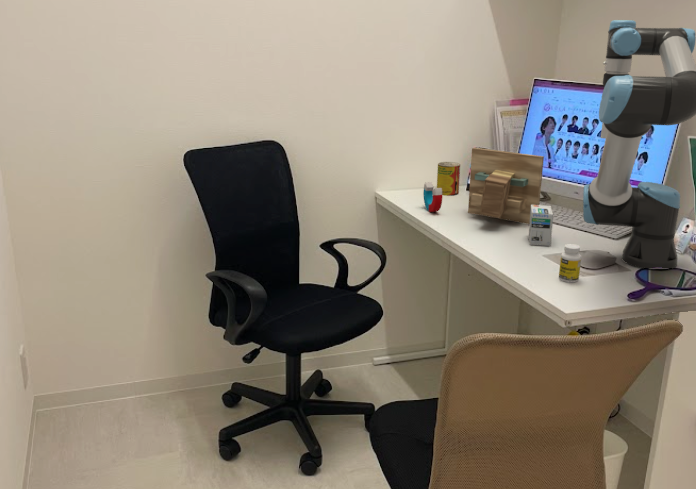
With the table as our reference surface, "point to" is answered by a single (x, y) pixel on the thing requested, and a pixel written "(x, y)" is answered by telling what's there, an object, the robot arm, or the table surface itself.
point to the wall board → (521, 186)
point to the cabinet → (496, 193)
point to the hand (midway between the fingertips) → (608, 141)
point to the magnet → (432, 197)
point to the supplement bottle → (570, 263)
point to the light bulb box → (540, 225)
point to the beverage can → (448, 178)
